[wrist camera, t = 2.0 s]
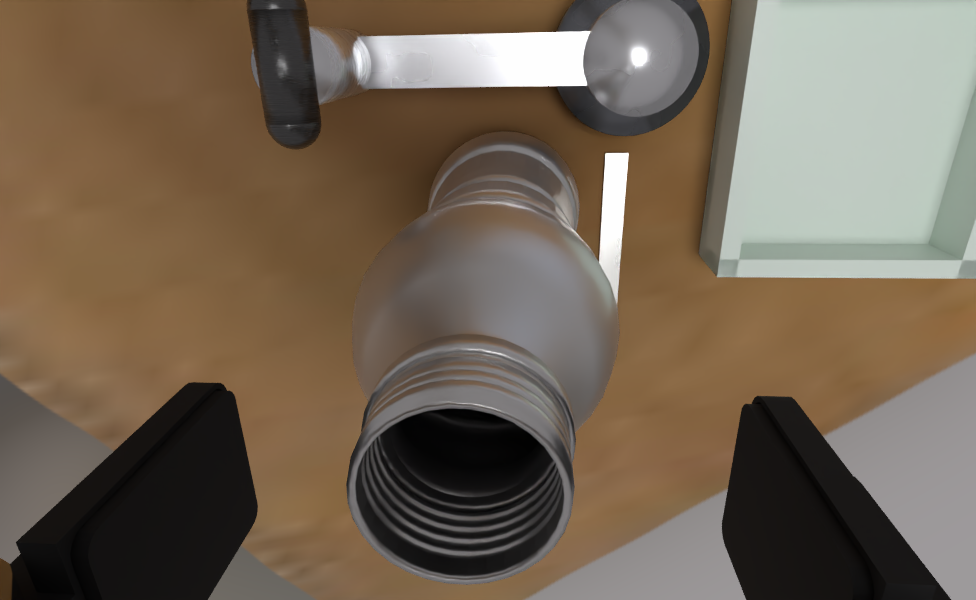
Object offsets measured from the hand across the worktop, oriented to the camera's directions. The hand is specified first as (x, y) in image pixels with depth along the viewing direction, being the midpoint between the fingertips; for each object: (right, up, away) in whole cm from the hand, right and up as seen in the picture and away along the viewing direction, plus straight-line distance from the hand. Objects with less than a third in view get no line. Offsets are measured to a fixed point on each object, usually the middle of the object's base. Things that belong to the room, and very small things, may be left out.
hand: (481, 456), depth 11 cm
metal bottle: (+1, +8, +17) cm, 19 cm away
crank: (+1, +12, +12) cm, 17 cm away
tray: (+15, +10, +14) cm, 24 cm away
